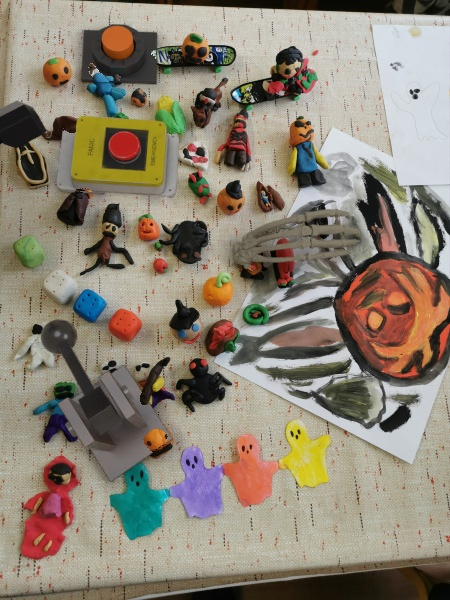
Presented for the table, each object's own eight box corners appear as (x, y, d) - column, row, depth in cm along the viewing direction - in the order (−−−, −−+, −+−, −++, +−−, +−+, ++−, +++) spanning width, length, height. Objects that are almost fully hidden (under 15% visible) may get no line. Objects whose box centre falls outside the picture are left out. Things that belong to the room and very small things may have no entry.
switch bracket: (64, 405, 63) (24, 386, 47) (125, 366, 65) (106, 334, 49) (111, 482, 61) (86, 488, 45) (172, 439, 63) (169, 430, 47)
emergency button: (175, 182, 67) (48, 174, 66) (175, 198, 71) (56, 191, 70) (179, 115, 70) (57, 106, 69) (179, 134, 74) (64, 126, 73)
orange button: (102, 59, 74) (101, 50, 72) (104, 34, 75) (102, 25, 73) (133, 60, 74) (132, 51, 72) (134, 35, 75) (133, 26, 74)
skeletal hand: (364, 254, 72) (382, 246, 65) (235, 279, 70) (241, 273, 64) (354, 210, 72) (371, 198, 66) (226, 233, 70) (231, 223, 64)
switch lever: (47, 347, 59) (30, 325, 57) (76, 329, 60) (61, 306, 58) (96, 444, 48) (77, 421, 46) (131, 420, 49) (115, 396, 47)
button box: (81, 82, 75) (78, 69, 73) (84, 33, 77) (81, 19, 75) (156, 84, 76) (155, 72, 73) (157, 35, 78) (156, 22, 76)
